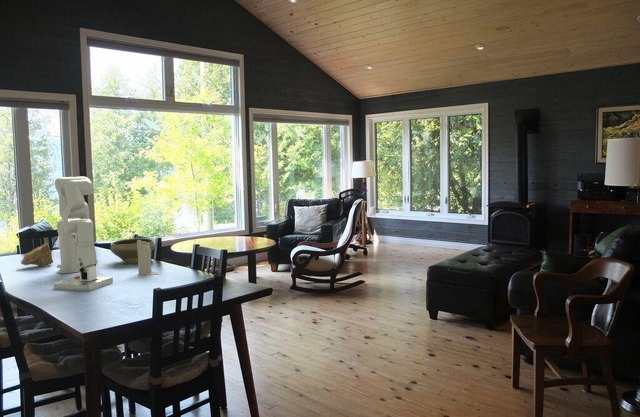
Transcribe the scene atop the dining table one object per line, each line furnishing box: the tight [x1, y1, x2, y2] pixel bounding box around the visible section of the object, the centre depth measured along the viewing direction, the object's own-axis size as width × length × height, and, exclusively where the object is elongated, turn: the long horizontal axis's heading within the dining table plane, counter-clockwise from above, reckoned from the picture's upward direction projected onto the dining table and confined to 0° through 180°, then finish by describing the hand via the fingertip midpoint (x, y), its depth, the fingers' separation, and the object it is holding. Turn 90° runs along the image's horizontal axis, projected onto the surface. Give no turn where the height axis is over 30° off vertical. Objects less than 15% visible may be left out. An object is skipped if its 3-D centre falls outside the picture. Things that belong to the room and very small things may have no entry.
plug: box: [79, 265, 98, 281], centre depth 264 cm, size 6×5×7 cm
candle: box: [137, 240, 162, 276], centre depth 291 cm, size 7×14×20 cm, turn 78°
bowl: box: [110, 237, 156, 264], centre depth 330 cm, size 28×28×14 cm
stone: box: [20, 242, 54, 267], centre depth 320 cm, size 18×10×15 cm, turn 122°
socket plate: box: [52, 274, 114, 292], centre depth 265 cm, size 22×18×4 cm
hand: (88, 277), depth 264 cm, fingers closed on plug, 5 cm apart
